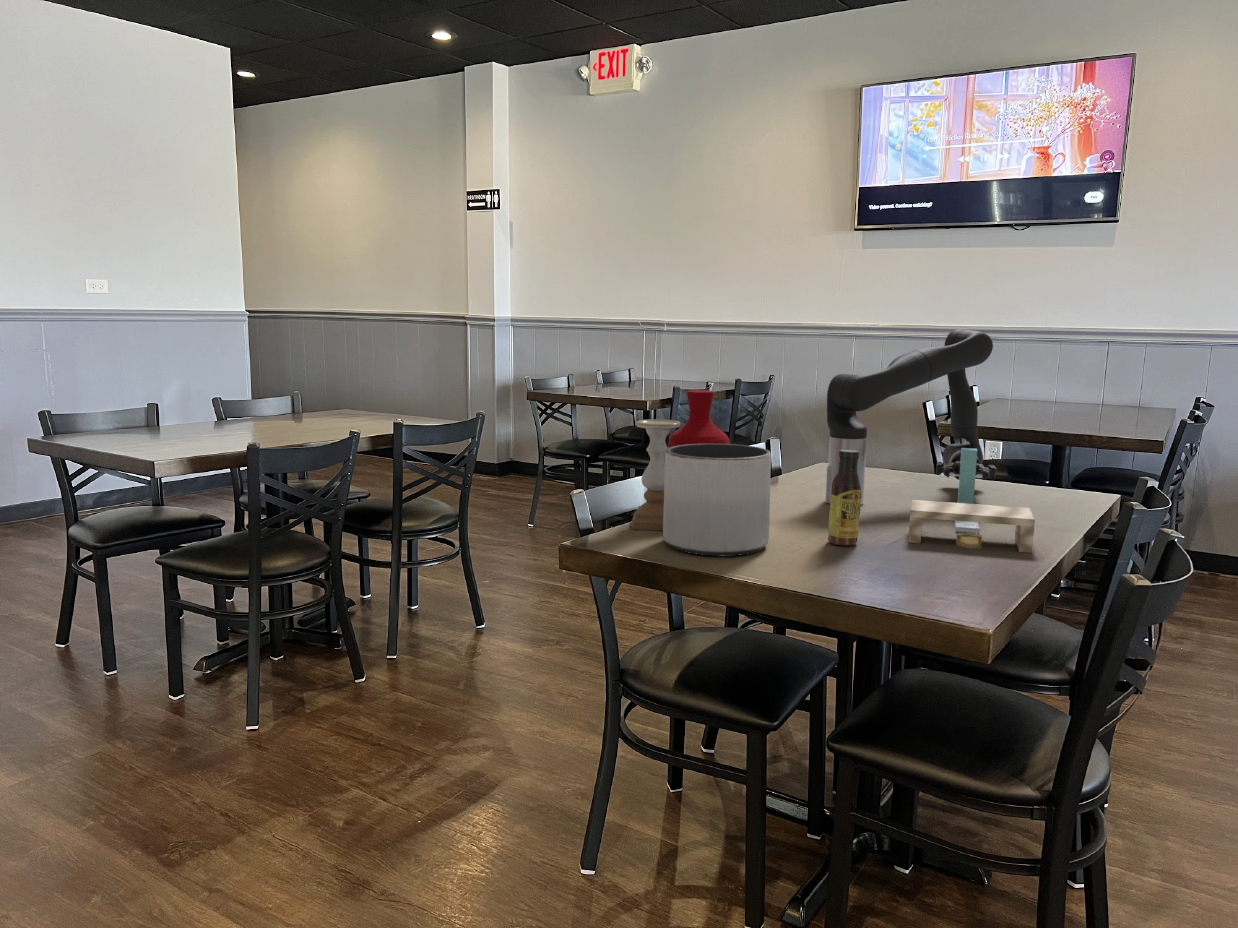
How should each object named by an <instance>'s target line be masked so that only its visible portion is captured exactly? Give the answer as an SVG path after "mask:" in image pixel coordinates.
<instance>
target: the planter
mask: <svg viewBox="0 0 1238 928" xmlns="http://www.w3.org/2000/svg"><path fill="white" fill-rule="evenodd" d="M771 465H772V452H771V451H770V450H769V449H766V448H763V447H758V446H752V445H745V444H736V443H730V444H687V445H678V446H673V447H670V448H667V449H666V450H665V482H664V513H663V531H662V535H663V541H664V542H665V543H666V544H668V546H670V547H671V548H673V549H675V550H677V549H678V550H677V551H679V550H682V551H681V552H683V551H686V552H690V553H689V554H691V553H697V554H703V555H702V556H705V555H737V556H740V555H739V554H745V555H748V554H747V553H750V554H753V553H752V552H754V553H756V552H758V551H760V550H762V549H763V548H765V547H767V545H768V543H769V539H770V522H771V520H770V517H771V516H770V515H771V512H770V511H771V470H772V469H771V468H772V467H771ZM755 551H756V552H755ZM686 552H685V553H686ZM697 554H696V555H697Z"/></svg>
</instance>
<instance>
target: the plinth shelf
mask: <svg viewBox="0 0 1238 928" xmlns="http://www.w3.org/2000/svg"><path fill="white" fill-rule="evenodd" d="M909 511H910V513H909V514H910V515H909V529H908V530H909V531H908V543H911V544H912V543H913V544H921V542H922V528H923V519H929V520H930V519H931V520H944V521H967V522H978V523H980V524H981V523H982V524H996V525H1008V526H1009V525H1010V526H1015V530H1014V531H1015V532H1014V541H1015V543H1016V546H1017V550H1018V552H1019V553H1028V554H1030V553H1031V554H1032V553H1033V547H1034V546H1033V545H1034V537H1035V536H1034V535H1035V534H1034V533H1035V522H1036V518H1035V517H1034V515H1033V513H1032V510H1031V508H1030V507H1020V506H1006V505H1005V506H1004V505H993V504H992V505H991V504H979V503H977V504H976V503H973V504H966V503H958V502H949V501H937V500H936V501H935V500H923V499H922V500H921V499H919V500H918V499H912V500H911V505H910V510H909Z"/></svg>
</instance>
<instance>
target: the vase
mask: <svg viewBox="0 0 1238 928" xmlns="http://www.w3.org/2000/svg"><path fill="white" fill-rule="evenodd" d="M714 395H715V391H712V390H706V389H705V390H703V389H702V390H700V389H698V390H697V389H694V390H687V391H686V396H687V402H688V410H689V416H688V418H687V420H686V421H687V422H686V423H685V424H683V426H682V425H681V426H680V427H679V428H678V429H676V430H675V431H674V432H672V434H671V435H670V437H669V439H668V445H667V447H668V448H670V447H673V446H678V445H687V444H731V442H730V439H729V437H728V435H727V434H726V433H725V432H724V431H723V430H721V429H720V428H719V427H717V426H716V425H715V424H714V422H713V421H712V419H711V418H712V417H711V408H712V403H713V399H714Z"/></svg>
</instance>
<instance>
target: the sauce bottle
mask: <svg viewBox="0 0 1238 928" xmlns="http://www.w3.org/2000/svg"><path fill="white" fill-rule="evenodd" d="M839 457H840V462H839V472H838V474H837V475H836V476H835V478H834V480H833V482H832V493H831V499H830V503H829V514H828V527H827V529H828V530H827V534H828V537H827V542H828V543H830V544H832V545H836V546H846V547H847V546H848V547H849V546H854V545H857V543H858V537H859V531H860V530H859V529H860V520H861V519H860V517H861V505H862V504H861V493H862V490H861V487H860V483H859V478H858V474H857V463H858V458H859V451H856V450H840V451H839Z"/></svg>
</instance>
